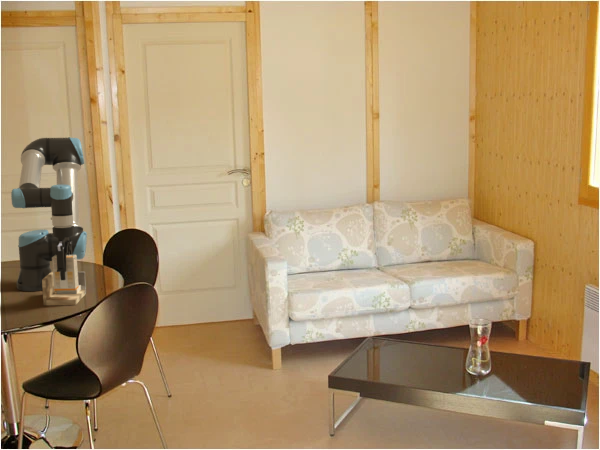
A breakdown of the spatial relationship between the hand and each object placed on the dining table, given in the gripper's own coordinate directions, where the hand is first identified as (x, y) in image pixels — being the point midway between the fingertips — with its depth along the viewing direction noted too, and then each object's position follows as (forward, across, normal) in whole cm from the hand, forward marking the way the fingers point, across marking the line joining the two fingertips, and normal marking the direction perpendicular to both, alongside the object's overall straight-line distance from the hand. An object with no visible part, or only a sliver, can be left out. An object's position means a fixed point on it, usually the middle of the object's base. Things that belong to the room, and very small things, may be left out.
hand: (66, 285), depth 266 cm
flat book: (+5, -9, -1) cm, 10 cm away
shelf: (+7, -5, -2) cm, 9 cm away
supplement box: (+2, 0, 0) cm, 2 cm away
